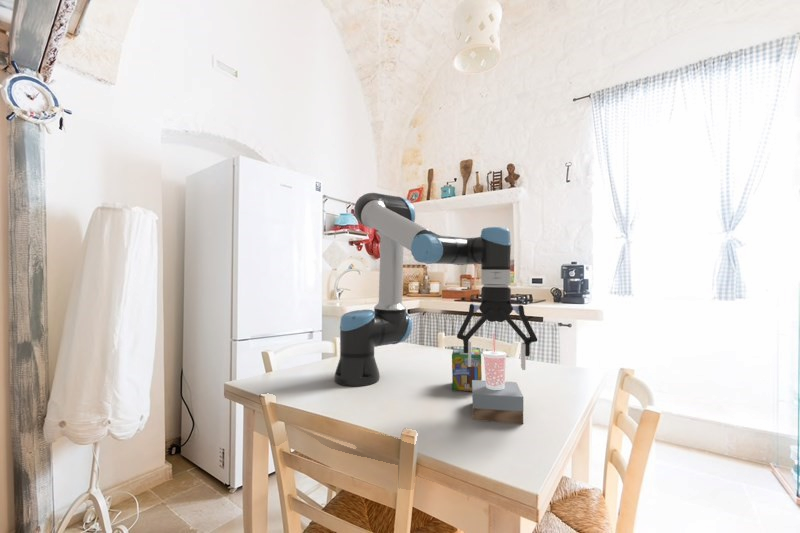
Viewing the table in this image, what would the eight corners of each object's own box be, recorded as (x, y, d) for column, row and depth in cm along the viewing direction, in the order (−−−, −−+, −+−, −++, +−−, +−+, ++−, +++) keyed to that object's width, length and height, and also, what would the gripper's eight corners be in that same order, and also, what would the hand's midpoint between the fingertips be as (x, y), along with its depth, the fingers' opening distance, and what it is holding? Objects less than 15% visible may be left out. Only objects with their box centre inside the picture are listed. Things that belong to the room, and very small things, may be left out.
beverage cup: (490, 382, 98) (489, 331, 99) (511, 387, 94) (510, 333, 95) (478, 387, 94) (477, 334, 94) (500, 392, 89) (499, 336, 90)
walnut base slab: (472, 421, 89) (472, 407, 89) (473, 404, 101) (473, 392, 101) (523, 426, 86) (523, 411, 86) (518, 408, 98) (517, 395, 98)
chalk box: (482, 392, 109) (481, 344, 110) (451, 390, 111) (451, 343, 112) (481, 383, 118) (481, 339, 119) (453, 382, 120) (453, 338, 121)
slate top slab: (472, 408, 89) (472, 394, 89) (472, 392, 101) (472, 380, 101) (523, 411, 87) (523, 396, 87) (516, 395, 98) (516, 382, 98)
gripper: (447, 286, 93) (447, 367, 93) (549, 287, 88) (549, 373, 88) (449, 285, 101) (449, 361, 100) (543, 286, 95) (543, 366, 95)
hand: (496, 367), depth 94 cm, fingers open, 13 cm apart
